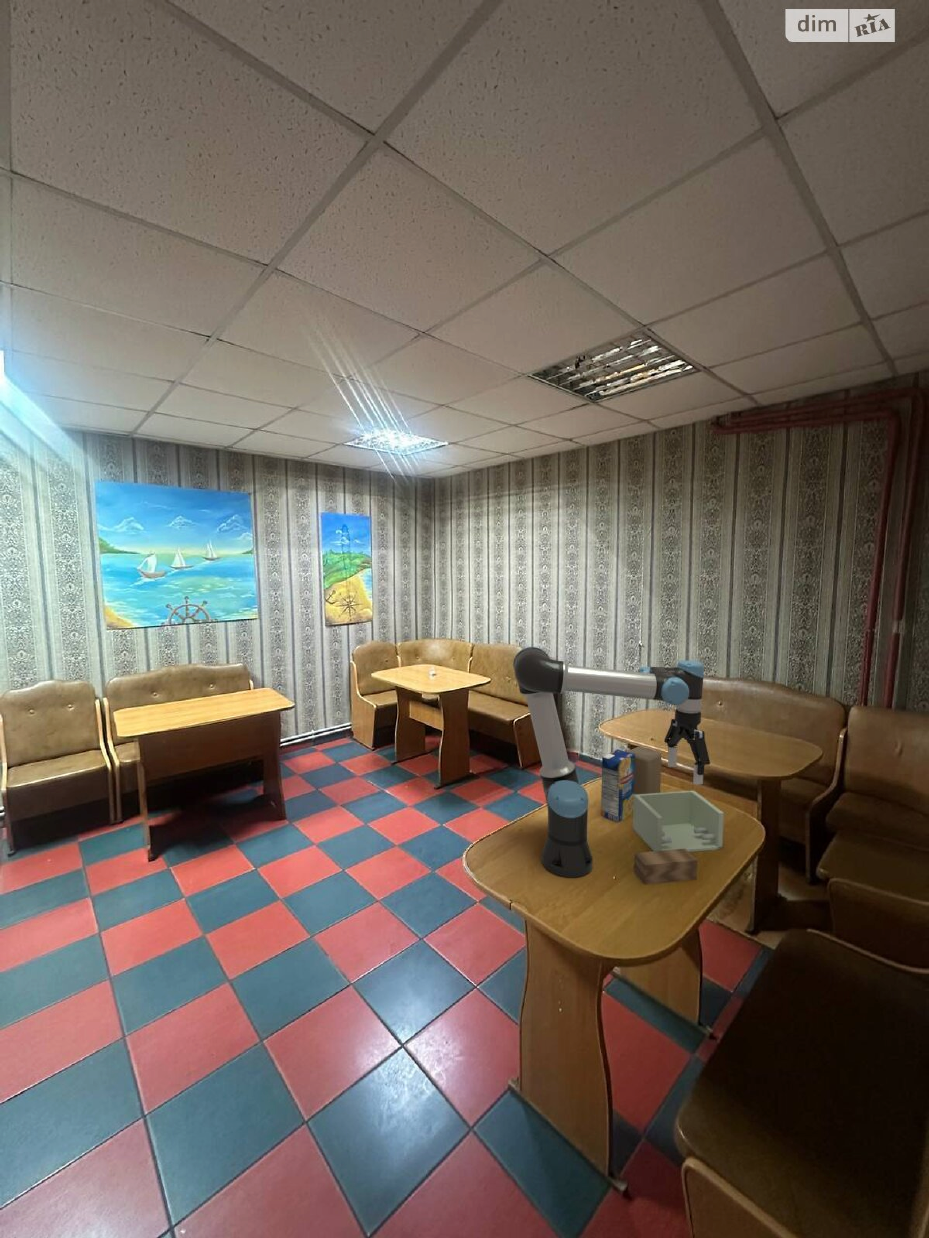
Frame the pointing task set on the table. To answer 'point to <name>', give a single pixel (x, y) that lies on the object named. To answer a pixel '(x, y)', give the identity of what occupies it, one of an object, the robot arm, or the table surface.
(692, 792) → the open storage box
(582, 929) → the table surface
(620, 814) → the beverage box
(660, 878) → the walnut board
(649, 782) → the wooden block
